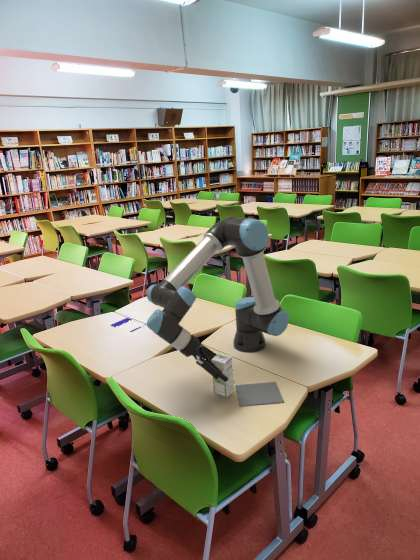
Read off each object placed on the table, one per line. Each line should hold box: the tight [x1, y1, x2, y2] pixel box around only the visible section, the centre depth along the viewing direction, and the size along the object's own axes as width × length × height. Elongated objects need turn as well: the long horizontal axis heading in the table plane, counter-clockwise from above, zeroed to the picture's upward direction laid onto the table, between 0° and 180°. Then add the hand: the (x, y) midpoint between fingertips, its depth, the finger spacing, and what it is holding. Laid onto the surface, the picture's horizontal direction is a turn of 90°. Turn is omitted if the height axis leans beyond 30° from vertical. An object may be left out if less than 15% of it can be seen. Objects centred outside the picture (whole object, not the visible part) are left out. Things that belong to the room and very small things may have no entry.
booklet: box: [110, 317, 147, 333], centre depth 230 cm, size 12×25×1 cm, turn 52°
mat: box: [234, 381, 285, 407], centre depth 158 cm, size 14×16×1 cm
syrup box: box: [211, 353, 235, 398], centre depth 155 cm, size 6×6×14 cm
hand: (232, 378), depth 155 cm, fingers closed on syrup box, 8 cm apart
